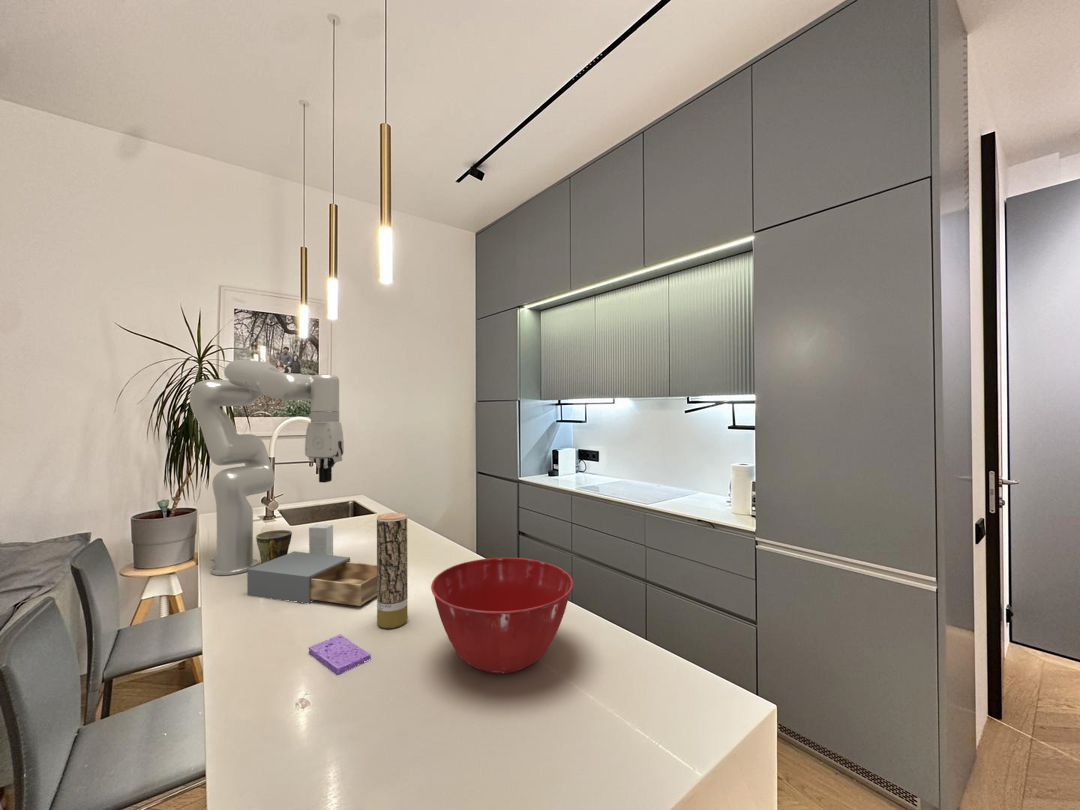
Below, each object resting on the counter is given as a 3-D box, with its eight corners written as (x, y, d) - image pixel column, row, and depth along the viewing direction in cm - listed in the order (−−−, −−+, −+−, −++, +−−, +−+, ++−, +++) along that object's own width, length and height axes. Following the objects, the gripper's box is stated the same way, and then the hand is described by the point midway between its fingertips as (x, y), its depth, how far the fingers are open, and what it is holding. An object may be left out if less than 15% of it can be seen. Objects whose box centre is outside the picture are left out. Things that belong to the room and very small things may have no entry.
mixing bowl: (596, 642, 100) (595, 570, 100) (524, 719, 75) (523, 623, 75) (489, 613, 114) (489, 549, 114) (400, 670, 90) (399, 589, 90)
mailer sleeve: (247, 595, 126) (247, 569, 126) (294, 574, 141) (294, 551, 141) (308, 604, 120) (308, 576, 120) (350, 581, 135) (350, 557, 135)
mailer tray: (298, 597, 122) (298, 577, 122) (336, 578, 135) (336, 560, 135) (359, 605, 116) (359, 585, 116) (393, 585, 130) (393, 566, 130)
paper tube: (398, 631, 105) (398, 520, 105) (371, 628, 107) (370, 518, 107) (412, 617, 112) (412, 513, 112) (386, 615, 113) (386, 512, 113)
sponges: (340, 642, 101) (340, 633, 101) (371, 662, 93) (371, 653, 93) (307, 655, 96) (307, 646, 96) (337, 678, 88) (337, 668, 88)
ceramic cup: (258, 562, 152) (258, 531, 152) (292, 558, 156) (292, 528, 156) (252, 575, 140) (252, 542, 140) (290, 570, 144) (290, 538, 144)
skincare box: (333, 561, 153) (333, 524, 153) (326, 565, 149) (326, 527, 149) (316, 560, 154) (316, 524, 154) (308, 564, 150) (308, 527, 150)
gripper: (293, 418, 133) (293, 482, 133) (337, 418, 128) (337, 485, 128) (313, 417, 140) (313, 478, 140) (355, 417, 136) (356, 480, 136)
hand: (325, 481), depth 134 cm, fingers closed
